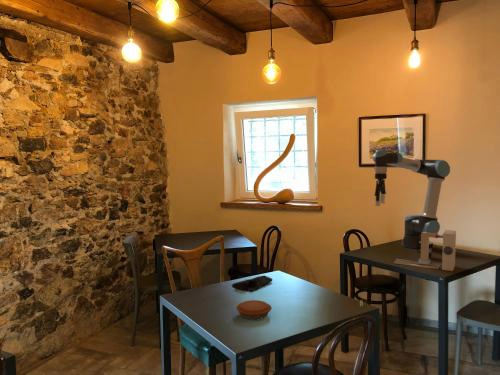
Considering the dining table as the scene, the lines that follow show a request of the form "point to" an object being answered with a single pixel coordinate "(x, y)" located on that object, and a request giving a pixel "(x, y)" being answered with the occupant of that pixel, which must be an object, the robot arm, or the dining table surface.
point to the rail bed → (416, 263)
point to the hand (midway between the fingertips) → (380, 204)
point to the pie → (253, 309)
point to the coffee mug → (429, 249)
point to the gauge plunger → (438, 236)
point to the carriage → (425, 247)
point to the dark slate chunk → (252, 283)
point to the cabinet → (448, 250)
